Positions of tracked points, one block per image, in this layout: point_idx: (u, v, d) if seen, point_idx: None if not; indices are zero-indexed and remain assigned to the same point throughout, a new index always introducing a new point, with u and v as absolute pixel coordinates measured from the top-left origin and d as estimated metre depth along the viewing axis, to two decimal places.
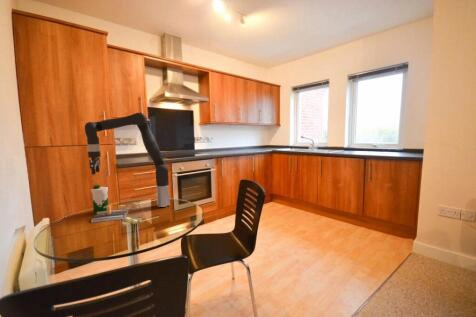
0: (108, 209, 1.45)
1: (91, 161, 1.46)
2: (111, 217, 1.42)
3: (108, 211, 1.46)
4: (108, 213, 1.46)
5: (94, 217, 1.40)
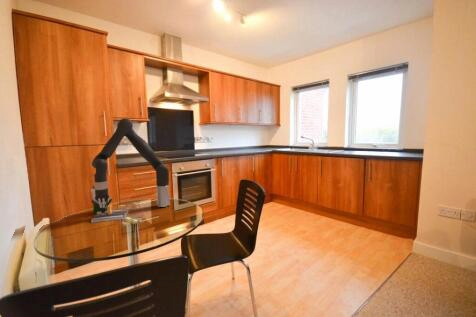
0: (109, 209, 1.46)
1: (111, 200, 1.47)
2: (111, 217, 1.42)
3: (109, 211, 1.46)
4: (109, 213, 1.46)
5: (94, 217, 1.40)
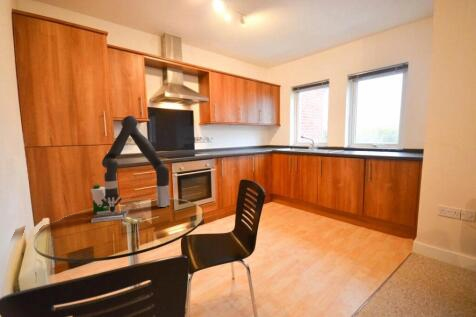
0: (118, 208, 1.47)
1: None
2: (111, 217, 1.42)
3: (118, 210, 1.47)
4: (118, 212, 1.47)
5: (94, 217, 1.40)
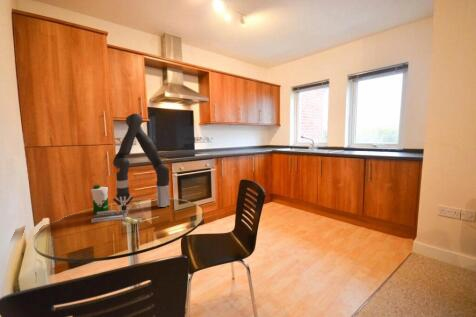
0: (117, 208, 1.47)
1: (132, 198, 1.50)
2: (111, 217, 1.42)
3: (117, 210, 1.47)
4: (117, 212, 1.47)
5: (94, 217, 1.40)
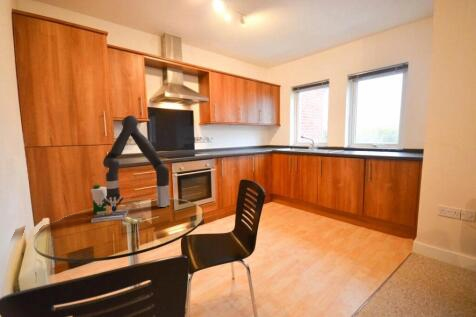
0: (107, 209, 1.45)
1: (122, 199, 1.49)
2: (111, 217, 1.42)
3: (107, 211, 1.45)
4: (107, 213, 1.46)
5: (94, 217, 1.40)
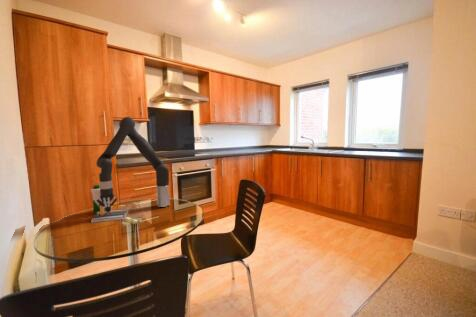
0: (101, 210, 1.44)
1: (116, 199, 1.48)
2: (111, 217, 1.42)
3: (101, 212, 1.44)
4: (101, 214, 1.44)
5: (94, 217, 1.40)
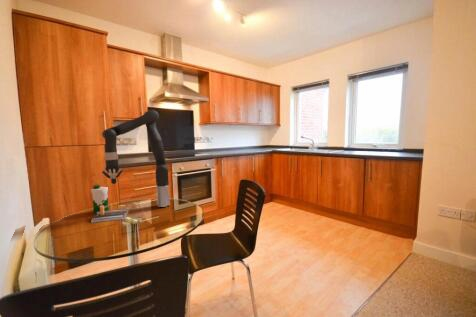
0: (101, 210, 1.44)
1: (122, 171, 1.47)
2: (111, 217, 1.42)
3: (101, 212, 1.44)
4: (101, 214, 1.44)
5: (94, 217, 1.40)
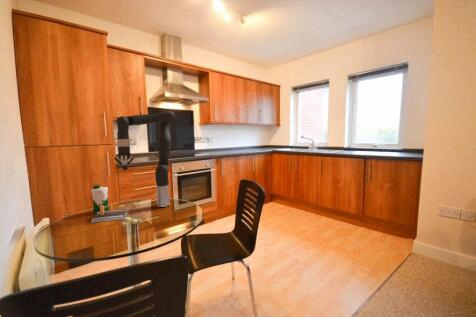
0: (101, 210, 1.44)
1: (133, 158, 1.50)
2: (111, 217, 1.42)
3: (101, 212, 1.44)
4: (101, 214, 1.44)
5: (94, 217, 1.40)
